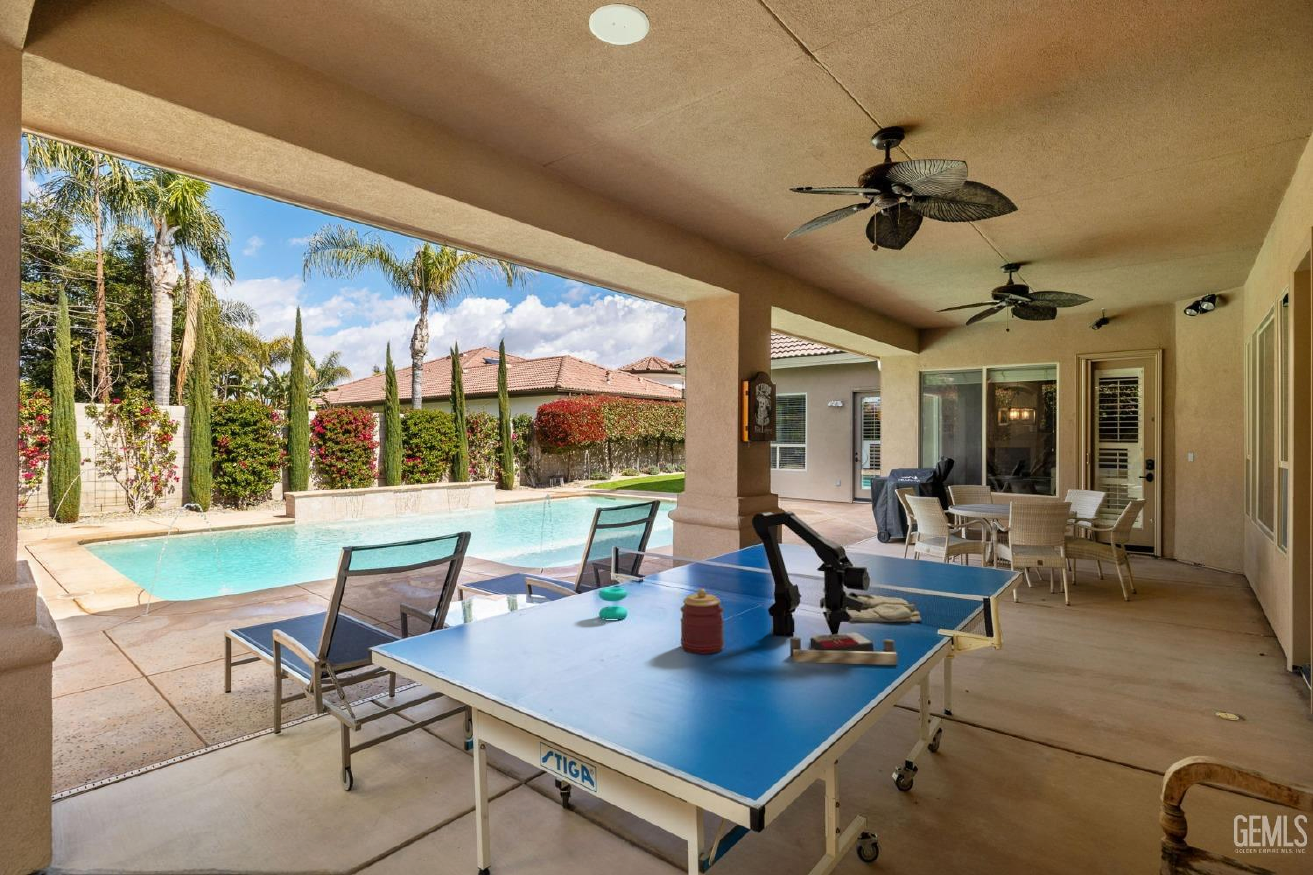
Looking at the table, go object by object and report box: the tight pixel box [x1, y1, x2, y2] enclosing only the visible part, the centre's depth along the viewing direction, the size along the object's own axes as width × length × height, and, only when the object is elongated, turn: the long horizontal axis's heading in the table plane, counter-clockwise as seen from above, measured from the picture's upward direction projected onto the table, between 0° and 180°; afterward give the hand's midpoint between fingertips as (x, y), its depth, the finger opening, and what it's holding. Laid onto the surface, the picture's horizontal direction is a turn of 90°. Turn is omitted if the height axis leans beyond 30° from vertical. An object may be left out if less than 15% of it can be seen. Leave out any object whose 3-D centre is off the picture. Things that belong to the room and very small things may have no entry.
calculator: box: [810, 632, 875, 652], centre depth 194 cm, size 11×4×15 cm
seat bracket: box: [789, 636, 898, 666], centre depth 185 cm, size 29×7×5 cm, turn 83°
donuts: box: [598, 586, 628, 620], centre depth 233 cm, size 10×10×10 cm
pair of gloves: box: [845, 593, 922, 623], centre depth 236 cm, size 30×26×5 cm
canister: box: [679, 588, 725, 655], centre depth 197 cm, size 13×13×18 cm
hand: (834, 637), depth 201 cm, fingers closed
